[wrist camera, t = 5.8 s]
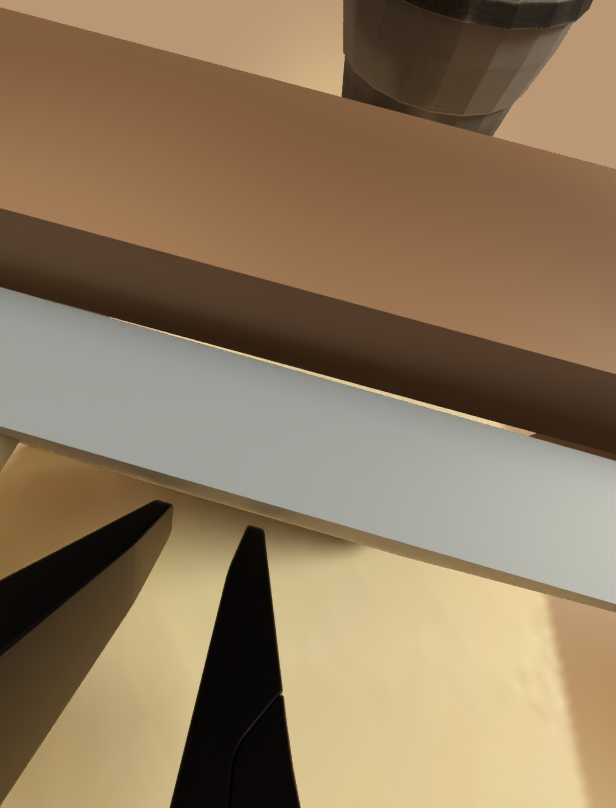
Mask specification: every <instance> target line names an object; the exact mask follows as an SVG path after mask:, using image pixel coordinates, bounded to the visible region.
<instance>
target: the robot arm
mask: <svg viewBox="0 0 616 808" xmlns="http://www.w3.org/2000/svg"><path fill="white" fill-rule="evenodd" d="M172 517H173V505H172V504H171V503H167V502H163V501H160V500H155V501H152V502H150V503H148V504H146V505H145V506H143V507H141V508H139V509H137V510H135V511H133V512H131V513H129V514H127V515H125V516H123V517H121V518H119V519H118V520H116V521H114V522H112V523H110V524H108V525H106V526H104V527H102V528H100V529H98V530H96V531H94V532H92V533H90V534H89V535H87V536H85V537H83V538H81V539H79V540H77V541H75V542H73V543H71V544H69V545H67V546H65V547H63V548H61V549H60V550H58V551H56V552H54V553H52V554H50V555H48V556H46V557H44V558H42V559H40V560H38V561H36V562H34V563H32V564H31V565H29V566H27V567H25V568H23V569H21V570H19V571H17V572H15V573H13V574H11V575H9V576H7V577H5V578H3V579H2V580H0V805H1V804H2V802H3V801H4V799H5V798H6V796H7V795H8V793H9V792H10V790H11V789H12V787H13V786H14V784H15V783H16V781H17V780H18V778H19V777H20V775H21V774H22V772H23V771H24V769H25V768H26V766H27V764H28V763H29V761H30V760H31V758H32V757H33V755H34V754H35V752H36V751H37V749H38V748H39V746H40V745H41V743H42V742H43V740H44V739H45V737H46V736H47V734H48V733H49V731H50V730H51V728H52V727H53V725H54V724H55V722H56V721H57V719H58V718H59V716H60V715H61V713H62V711H63V710H64V708H65V707H66V705H67V704H68V702H69V701H70V699H71V698H72V696H73V695H74V693H75V692H76V690H77V689H78V687H79V686H80V684H81V683H82V681H83V680H84V678H85V677H86V675H87V674H88V672H89V671H90V669H91V668H92V666H93V665H94V663H95V661H96V660H97V658H98V657H99V655H100V654H101V652H102V651H103V649H104V648H105V646H106V645H107V643H108V642H109V640H110V639H111V637H112V636H113V634H114V633H115V631H116V630H117V628H118V627H119V625H120V624H121V622H122V621H123V619H124V618H125V616H126V615H127V613H128V611H129V610H130V608H131V607H132V605H133V603H134V602H135V600H136V598H137V596H138V594H139V593H140V591H141V589H142V587H143V585H144V583H145V581H146V579H147V578H148V576H149V574H150V572H151V570H152V568H153V566H154V564H155V563H156V561H157V559H158V557H159V555H160V553H161V551H162V549H163V547H164V546H165V544H166V542H167V540H168V538H169V535H170V533H171V528H172ZM282 692H283V687H282V679H281V670H280V662H279V653H278V645H277V636H276V628H275V619H274V611H273V602H272V594H271V585H270V576H269V568H268V559H267V551H266V542H265V534H264V530H263V529H261V528H258V527H254V526H251V525H249V526H247V527H246V529H245V532H244V534H243V536H242V539H241V541H240V543H239V546H238V548H237V550H236V552H235V555H234V557H233V559H232V562H231V564H230V567H229V569H228V573H227V576H226V580H225V584H224V588H223V592H222V596H221V600H220V604H219V608H218V612H217V616H216V621H215V625H214V629H213V633H212V637H211V641H210V645H209V649H208V653H207V657H206V661H205V666H204V670H203V674H202V678H201V682H200V686H199V690H198V694H197V698H196V702H195V706H194V710H193V715H192V719H191V723H190V727H189V731H188V735H187V739H186V743H185V747H184V751H183V755H182V760H181V764H180V768H179V772H178V776H177V780H176V784H175V788H174V792H173V796H172V800H171V805H170V808H301V807H300V801H299V796H298V791H297V785H296V780H295V774H294V769H293V762H292V755H291V748H290V741H289V734H288V727H287V719H286V711H285V703H284V697H283V695H282Z"/></svg>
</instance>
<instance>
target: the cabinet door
mask: <svg viewBox="0 0 616 808" xmlns="http://www.w3.org/2000/svg"><path fill="white" fill-rule="evenodd" d="M19 442H20V443H23V444H26V445H29V446H33V447H36V448H39V449H42V450H45V451H49V452H52V453H55V454H58V455H61V456H64V457H68V458H71V459H74V460H77V461H80V462H84V463H87V464H90V465H93V466H96V467H99V468H103V469H106V470H109V471H112V472H115V473H119V474H122V475H125V476H128V477H131V478H135V479H138V480H141V481H144V482H148V483H151V484H155V485H158V486H161V487H165V488H168V489H172V490H175V491H179V492H182V493H186V494H189V495H193V496H196V497H199V498H203V499H206V500H210V501H213V502H217V503H220V504H224V505H227V506H231V507H234V508H237V509H241V510H244V511H248V512H251V513H255V514H258V515H262V516H265V517H269V518H272V519H275V520H279V521H282V522H286V523H289V524H293V525H296V526H300V527H303V528H307V529H310V530H313V531H317V532H320V533H324V534H327V535H331V536H334V537H338V538H341V539H344V540H348V541H351V542H355V543H358V544H362V545H365V546H369V547H372V548H376V549H379V550H382V551H386V552H389V553H393V554H396V555H400V556H403V557H407V558H411V559H415V560H419V561H422V562H426V563H430V564H434V565H438V566H441V567H445V568H449V569H453V570H457V571H460V572H464V573H468V574H472V575H476V576H480V577H483V578H487V579H491V580H495V581H499V582H502V583H506V584H510V585H514V586H518V587H521V588H525V589H529V590H533V591H537V592H540V593H544V594H548V595H552V596H556V597H559V598H563V599H567V600H571V601H575V602H579V603H582V604H586V605H590V606H594V607H598V608H601V609H605V610H609V611H613V612H616V461H614V460H610V459H607V458H603V457H600V456H596V455H593V454H589V453H586V452H582V451H579V450H575V449H571V448H568V447H564V446H561V445H557V444H554V443H550V442H547V441H543V440H540V439H536V438H533V437H529V436H525V435H522V434H518V433H515V432H511V431H508V430H504V429H501V428H497V427H494V426H490V425H486V424H483V423H479V422H476V421H472V420H469V419H465V418H462V417H458V416H455V415H451V414H448V413H444V412H440V411H437V410H433V409H430V408H426V407H423V406H419V405H416V404H412V403H409V402H405V401H401V400H398V399H394V398H391V397H387V396H384V395H380V394H377V393H373V392H370V391H366V390H363V389H359V388H355V387H352V386H348V385H345V384H341V383H338V382H334V381H331V380H327V379H324V378H320V377H317V376H313V375H309V374H306V373H302V372H299V371H295V370H292V369H288V368H285V367H281V366H278V365H274V364H270V363H267V362H263V361H260V360H256V359H253V358H249V357H246V356H242V355H239V354H235V353H232V352H228V351H224V350H221V349H217V348H214V347H210V346H207V345H203V344H200V343H196V342H193V341H189V340H185V339H182V338H178V337H175V336H171V335H168V334H164V333H161V332H157V331H154V330H150V329H147V328H143V327H139V326H136V325H132V324H129V323H125V322H122V321H118V320H115V319H111V318H108V317H104V316H100V315H97V314H93V313H90V312H86V311H83V310H79V309H76V308H72V307H69V306H65V305H62V304H58V303H54V302H51V301H47V300H44V299H40V298H37V297H33V296H30V295H26V294H23V293H19V292H15V291H12V290H8V289H5V288H1V287H0V471H1V469H2V468H3V466H4V465H5V463H6V462H7V460H8V459H9V457H10V455H11V454H12V452H13V451H14V449H15V448H16V446H17V444H18V443H19Z"/></svg>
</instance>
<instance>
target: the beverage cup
mask: <svg viewBox="0 0 616 808" xmlns="http://www.w3.org/2000/svg"><path fill="white" fill-rule="evenodd" d="M592 1H593V0H343V52H344V54H345V62H344V74H343V87H342V97H343V98H347V99H350V100H354V101H358V102H362V103H366V104H370V105H373V106H377V107H381V108H385V109H389V110H392V111H396V112H400V113H404V114H408V115H411V116H415V117H419V118H423V119H427V120H430V121H434V122H438V123H442V124H446V125H449V126H453V127H457V128H461V129H465V130H468V131H472V132H476V133H480V134H484V135H488V136H491V137H492V136H493V135H494V133H495V131H496V130H497V128H498V127H499V125H500V124H501V122H502V120H503V119H504V117H505V116H506V114H507V113H508V111H509V110H510V108H511V106H512V105H513V104H514V103H515V102H516V101H517V100H518V99H519V98H520V97H521V96H522V95H523V94H524V93H525V91H526V90H527V89H528V87H529V86H530V84H531V83H532V82H533V81H534V79H535V78H536V77H537V75H538V74H539V72H540V71H541V70H542V69H543V67H544V66H545V65H546V63H547V62H548V61H549V59H550V58H551V57H552V55H553V54H554V52H555V51H556V50H557V49H558V47H559V45H560V44H561V42H562V40H563V39H564V37H565V35H566V34H567V32H568V30H569V29H570V27H571V26H572V24H573V22H575V21H577V20H578V19H579V18H580V17H581V16H582V15H583V14H584V13H585V12H586V11H587V10H588V9H589V8H590V6H591V3H592Z"/></svg>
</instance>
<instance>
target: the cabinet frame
mask: <svg viewBox="0 0 616 808" xmlns="http://www.w3.org/2000/svg"><path fill="white" fill-rule="evenodd" d="M0 287H1V288H5V289H8V290H12V291H15V292H19V293H23V294H26V295H30V296H33V297H37V298H40V299H44V300H47V301H51V302H54V303H58V304H62V305H65V306H69V307H72V308H76V309H79V310H83V311H86V312H90V313H93V314H97V315H100V316H104V317H108V318H109V316H110V317H113V318H117V319H120V320H124V321H128V322H131V323H135V324H139V325H142V326H146V327H150V328H153V329H157V330H161V331H164V332H168V333H172V334H175V335H179V336H183V337H186V338H190V339H194V340H197V341H201V342H205V343H208V344H212V345H216V346H219V347H223V348H227V349H230V350H234V351H238V352H241V353H245V354H249V355H252V356H256V357H260V358H263V359H267V360H271V361H274V362H278V363H282V364H285V365H289V366H293V367H296V368H300V369H304V370H308V371H311V372H315V373H319V374H322V375H326V376H330V377H333V378H337V379H341V380H344V381H348V382H352V383H355V384H359V385H363V386H366V387H370V388H374V389H377V390H381V391H385V392H388V393H392V394H396V395H399V396H403V397H407V398H410V399H414V400H418V401H421V402H425V403H429V404H432V405H436V406H440V407H443V408H447V409H451V410H454V411H458V412H462V413H465V414H469V415H473V416H476V417H480V418H484V419H487V420H491V421H495V422H498V423H502V424H506V425H510V426H513V427H517V428H520V429H525V430H528V431H531V432H535V433H536V434H534V435H530V436H529V437H533V438H536V439H540V440H543V441H547V442H550V443H554V444H557V445H561V446H564V447H568V448H571V449H575V450H579V451H582V452H586V453H589V454H593V455H596V456H600V457H603V458H607V459H610V460H614V461H616V169H613V168H609V167H605V166H601V165H597V164H594V163H590V162H586V161H582V160H579V159H575V158H571V157H567V156H564V155H560V154H556V153H552V152H548V151H544V150H541V149H537V148H533V147H529V146H526V145H522V144H518V143H514V142H510V141H507V140H503V139H499V138H495V137H491V136H488V135H484V134H480V133H476V132H472V131H468V130H465V129H461V128H457V127H453V126H449V125H446V124H442V123H438V122H434V121H430V120H427V119H423V118H419V117H415V116H411V115H408V114H404V113H400V112H396V111H392V110H389V109H385V108H381V107H377V106H373V105H370V104H366V103H362V102H358V101H354V100H350V99H347V98H343V97H339V96H335V95H331V94H328V93H324V92H320V91H316V90H312V89H309V88H305V87H301V86H297V85H293V84H289V83H286V82H282V81H278V80H274V79H271V78H267V77H263V76H259V75H255V74H251V73H248V72H244V71H240V70H236V69H232V68H229V67H225V66H221V65H217V64H213V63H210V62H205V61H202V60H198V59H194V58H190V57H187V56H183V55H179V54H175V53H171V52H168V51H164V50H160V49H156V48H152V47H148V46H145V45H141V44H137V43H134V42H129V41H126V40H122V39H118V38H114V37H111V36H107V35H103V34H99V33H95V32H92V31H87V30H84V29H80V28H76V27H73V26H69V25H65V24H61V23H57V22H54V21H50V20H46V19H42V18H38V17H34V16H30V15H27V14H23V13H19V12H16V11H12V10H8V9H4V8H0Z"/></svg>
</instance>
